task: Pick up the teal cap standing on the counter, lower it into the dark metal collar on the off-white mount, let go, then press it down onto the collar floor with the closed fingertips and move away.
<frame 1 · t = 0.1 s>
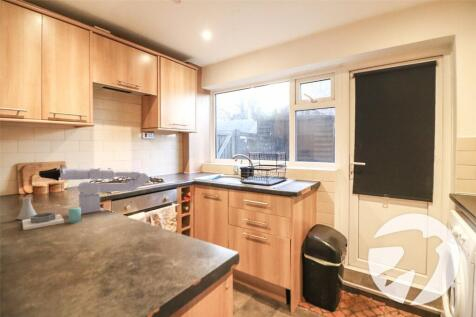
hand: (39, 174, 115), 22 cm above the worktop, tool horizontal, fingers open, 7 cm apart
flask: (27, 218, 118), on the worktop
mount: (43, 222, 111), on the worktop
cap: (75, 221, 112), on the worktop
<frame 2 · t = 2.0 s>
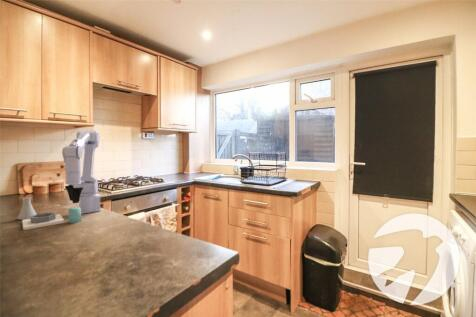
hand: (74, 201, 112), 9 cm above the worktop, tool pointing down, fingers open, 7 cm apart
nothing on the worktop moved.
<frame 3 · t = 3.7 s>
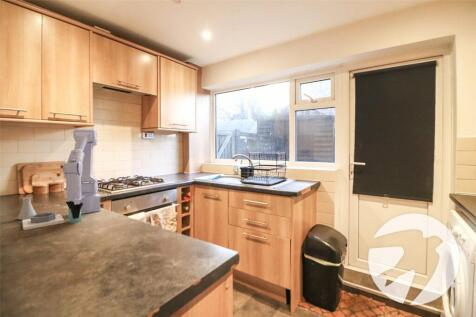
hand: (74, 217, 112), 2 cm above the worktop, tool pointing down, fingers closed on cap, 5 cm apart
cap: (75, 221, 112), on the worktop, touching gripper
everything else where it was.
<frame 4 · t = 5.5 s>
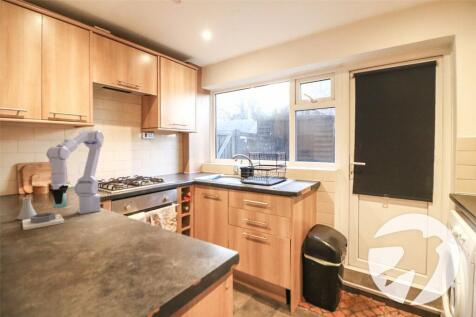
hand: (60, 202, 111), 9 cm above the worktop, tool pointing down, fingers closed on cap, 5 cm apart
cap: (60, 207, 111), point 7 cm above the worktop, touching gripper
everything else where it was.
when the fingers open (4 cm above the worktop, at t = 7.7 s): cap drops 1 cm, resting on mount.
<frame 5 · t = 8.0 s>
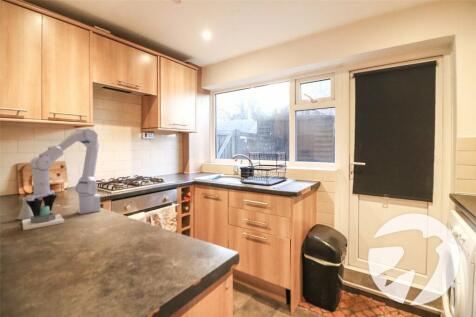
hand: (42, 213, 111), 4 cm above the worktop, tool pointing down, fingers open, 7 cm apart
cap: (43, 220, 111), point 1 cm above the worktop, touching mount
everything else where it was.
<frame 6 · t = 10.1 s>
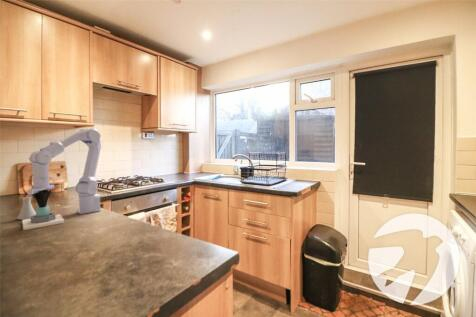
hand: (42, 207, 110), 7 cm above the worktop, tool pointing down, fingers closed, pressing on cap
cap: (43, 220, 111), point 1 cm above the worktop, touching gripper, mount
everything else where it was.
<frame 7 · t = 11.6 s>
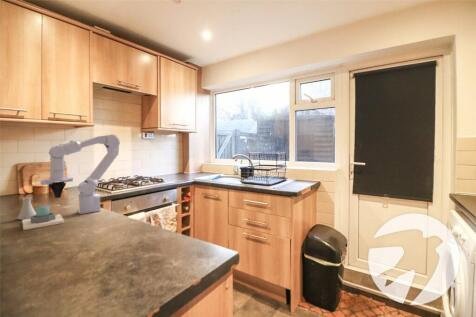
hand: (57, 197, 121), 9 cm above the worktop, tool pointing down, fingers closed
cap: (43, 220, 111), point 1 cm above the worktop, touching mount
everything else where it was.
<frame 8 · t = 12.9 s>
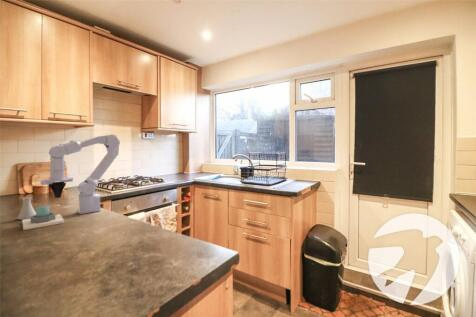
hand: (57, 197, 121), 9 cm above the worktop, tool pointing down, fingers closed
nothing on the worktop moved.
at the end: cap 0.1 cm off-centre on the mount, point 1.2 cm above the mount's base; cap tilted 1°; the gripper is holding nothing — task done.
